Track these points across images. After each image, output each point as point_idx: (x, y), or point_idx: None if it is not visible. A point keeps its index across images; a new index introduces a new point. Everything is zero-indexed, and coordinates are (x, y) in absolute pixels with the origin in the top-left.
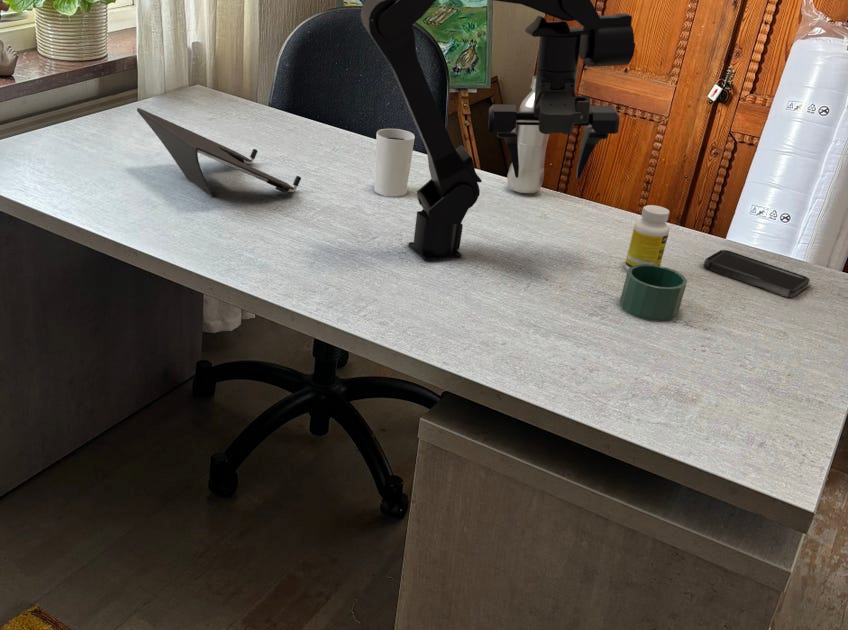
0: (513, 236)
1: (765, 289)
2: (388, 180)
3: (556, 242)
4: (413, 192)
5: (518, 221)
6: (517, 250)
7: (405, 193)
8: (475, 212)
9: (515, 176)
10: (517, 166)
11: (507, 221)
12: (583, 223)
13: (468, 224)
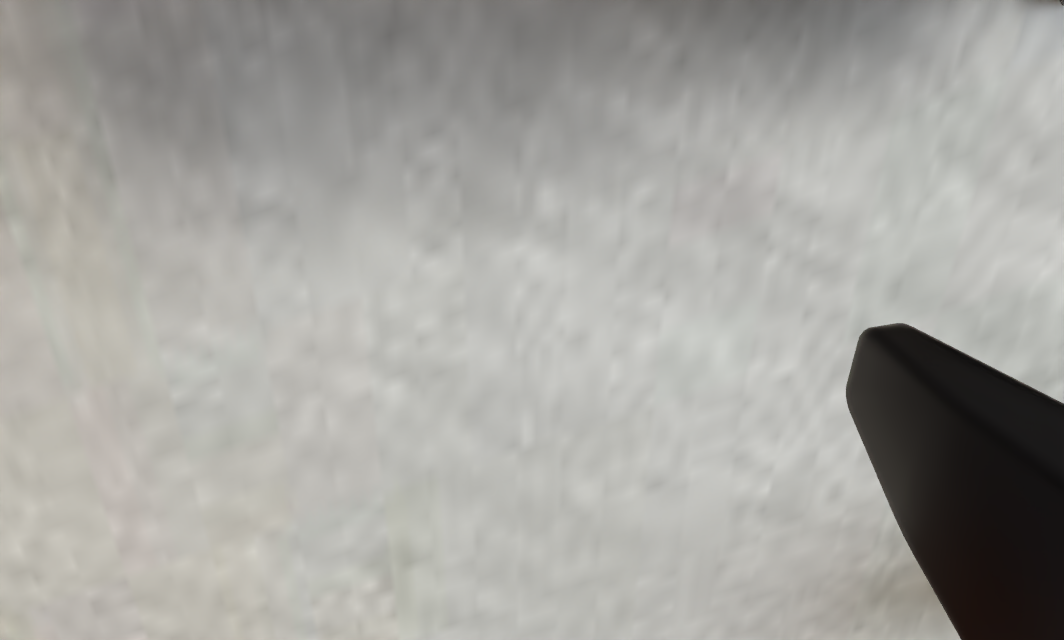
0: (555, 283)
1: None
2: None
3: (276, 291)
4: None
5: (524, 477)
6: (531, 65)
7: None
8: (750, 497)
9: (912, 327)
10: (1008, 418)
11: (585, 458)
12: (172, 569)
13: (815, 350)
